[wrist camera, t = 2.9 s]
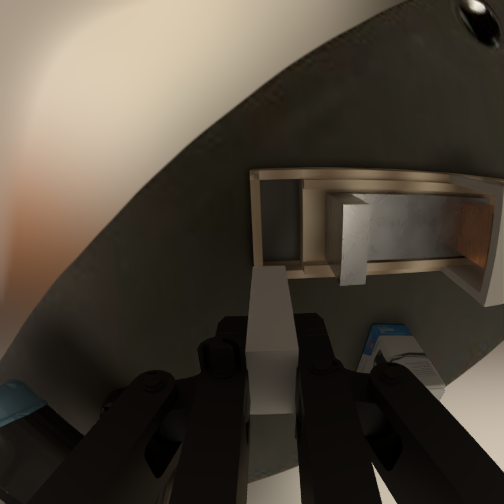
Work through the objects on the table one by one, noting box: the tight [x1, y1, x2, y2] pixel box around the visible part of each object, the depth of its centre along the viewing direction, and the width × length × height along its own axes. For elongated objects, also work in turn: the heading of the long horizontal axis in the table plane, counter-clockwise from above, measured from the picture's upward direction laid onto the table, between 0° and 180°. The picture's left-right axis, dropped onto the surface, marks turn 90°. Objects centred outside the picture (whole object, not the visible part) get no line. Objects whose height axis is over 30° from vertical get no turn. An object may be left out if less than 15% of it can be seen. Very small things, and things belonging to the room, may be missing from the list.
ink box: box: [356, 324, 445, 401], centre depth 30 cm, size 8×5×12 cm, turn 173°
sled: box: [325, 193, 495, 286], centre depth 24 cm, size 18×6×6 cm, turn 93°
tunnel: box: [440, 175, 504, 307], centre depth 23 cm, size 6×10×8 cm, turn 3°
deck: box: [250, 167, 504, 279], centre depth 28 cm, size 34×10×4 cm, turn 93°
